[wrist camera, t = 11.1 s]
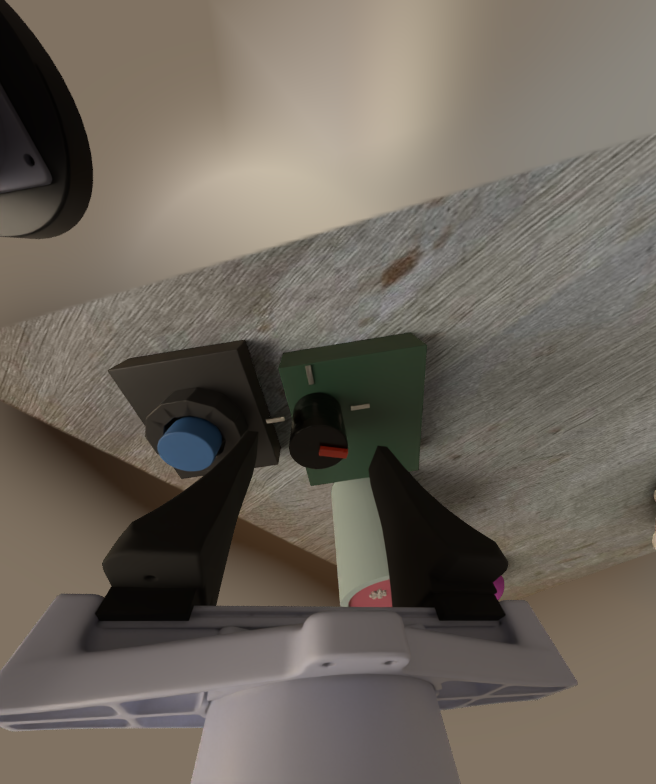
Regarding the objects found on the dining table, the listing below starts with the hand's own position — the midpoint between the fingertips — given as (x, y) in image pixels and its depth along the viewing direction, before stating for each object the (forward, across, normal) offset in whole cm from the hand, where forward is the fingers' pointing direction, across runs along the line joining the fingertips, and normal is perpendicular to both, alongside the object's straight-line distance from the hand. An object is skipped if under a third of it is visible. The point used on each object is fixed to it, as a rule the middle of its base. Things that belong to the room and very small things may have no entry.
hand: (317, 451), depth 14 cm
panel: (+7, -4, +1) cm, 8 cm away
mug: (+7, -10, +13) cm, 18 cm away
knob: (+4, 0, 0) cm, 4 cm away
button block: (+7, +8, +3) cm, 11 cm away
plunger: (+3, +8, +3) cm, 10 cm away
